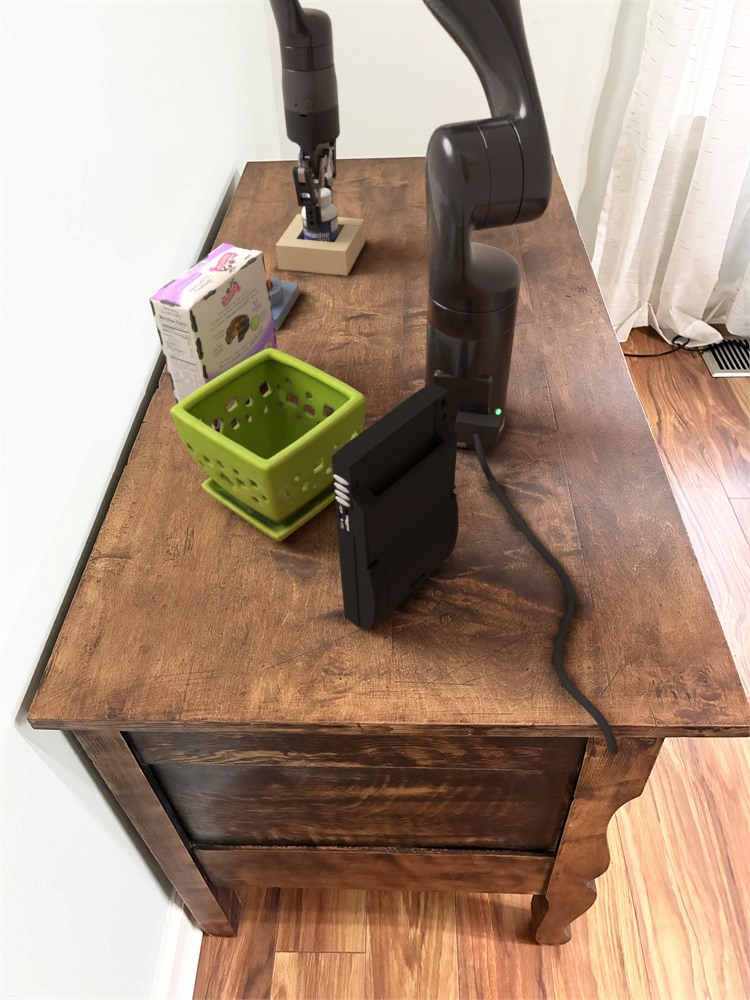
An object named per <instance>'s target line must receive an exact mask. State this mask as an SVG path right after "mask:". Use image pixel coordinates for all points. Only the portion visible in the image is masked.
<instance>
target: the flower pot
mask: <svg viewBox="0 0 750 1000" xmlns="http://www.w3.org/2000/svg"><path fill="white" fill-rule="evenodd" d="M264 381H266V385H267V387H268V390H267V391H266V392H265V393H264V394H263V395H262V392H261V390H260V389H261V388H260V389H259V386H260V385H261V384H262V383H263V382H264ZM310 394H311V397H310ZM290 395H292V396H294V397H295V398H297V404H295V403H293V402H292V401H291V400H290ZM233 397H234V400H235V405H234V406H232V407H231V408H230V409H229V410H227V408H226V403H227V402H228V401H229V400H230V399H231V398H233ZM249 397H250V399H249V403H248V404H247V402H246V400H247V398H249ZM282 405H283V407H282ZM307 406H308V407H310V408H312V409H313V410H314V412H313V413H314V414H311V413H310V412H308V411H307V408H308V407H307ZM327 407H328V408H330V409H332V410H333V412H332V414H330V415H329V416H327ZM366 414H367V398H366V396H365V395H364V394H363V393H361V392H360V391H358V390H357V389H356V388H355V387H352V386H351V385H349V384H347V383H346V382H343V381H342V380H340V379H338V378H337V377H334V376H333V375H331V374H329V373H327V372H324V371H323V370H322V369H319V368H317V367H315V366H314V365H312V364H309V363H308V362H306V361H303V360H301V359H299V358H297V357H295V356H293V355H291V354H288V353H286V352H284V351H281V350H280V349H277V350H276V349H273V348H268V349H265V350H263V351H261V352H259V353H257V354H256V355H254V356H252V357H250V358H248V359H246V360H245V361H243V362H241V363H239V364H238V365H236V366H234V367H233V368H231V369H229V370H228V371H226V372H224V373H223V374H221V375H219V376H218V377H216V378H215V379H213V380H211V381H210V382H208V383H207V384H205V385H204V386H202V387H201V388H199V389H198V390H196V391H195V392H193V393H192V394H190V395H189V396H187V397H186V398H185V399H183V400H182V401H181V402H179V403H178V404H177V403H176V404H175V405H174V406H173V407H171V409H170V416H171V418H172V421H173V423H174V426H175V428H176V430H177V433H178V435H179V437H180V439H181V441H182V443H183V445H184V446H185V449H186V450H187V452H188V453H189V454H190V456H191V457H192V459H193V460H194V461H195V462H196V464H197V465H198V466H199V467H200V468H201V470H202V471H203V472H204V473H205V474H206V475H207V476H208V477H209V478H207V479H206V480H205V481H203V482H202V483H201V488H202V490H203V491H204V492H206V493H207V494H208V495H209V496H211V497H212V498H214V499H215V500H216V501H218V502H219V503H221V504H222V505H223V506H224V507H226V508H227V509H229V510H231V511H232V512H233V513H235V514H236V515H238V516H239V517H241V518H242V519H244V520H245V521H247V523H249V524H251V525H252V526H253V527H255V528H257V530H259V531H260V532H262V533H264V534H265V535H267V536H268V537H269V538H271V539H273V540H275V541H276V542H281V541H283V540H285V539H286V538H288V537H289V536H290V535H291V534H293V533H295V531H297V530H298V529H299V528H301V527H302V526H303V525H305V524H306V523H307V522H309V521H310V520H311V519H312V518H314V517H316V515H317V514H319V513H320V512H321V511H322V510H324V509H325V508H326V507H328V506H329V505H330V504H331V503H333V502H335V492H334V479H333V467H332V455H333V454H334V453H336V452H337V451H338V450H339V449H340V448H342V447H343V446H344V445H345V444H347V443H348V442H349V441H351V440H352V439H353V438H355V437H356V436H357V435H359V434H360V433H362V432H363V431H364V427H365V420H366ZM247 415H249V418H248V420H247ZM300 417H301V419H300ZM200 419H201V421H200ZM214 419H220V420H221V427H220V428H219V431H217V429H216V430H214V429H212V428H211V427H212V424H213V421H214ZM234 420H236V422H237V423H236V425H235V426H234V427H233V426H232V422H233V421H234Z"/></svg>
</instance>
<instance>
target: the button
mask: <svg viewBox="0 0 750 1000" xmlns="http://www.w3.org/2000/svg"><path fill="white" fill-rule="evenodd" d="M266 276H267V282H268V289H269V290H271V281H270V276H271V275H269V273H267V272H266Z"/></svg>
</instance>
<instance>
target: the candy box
mask: <svg viewBox="0 0 750 1000" xmlns="http://www.w3.org/2000/svg"><path fill="white" fill-rule="evenodd" d="M265 263H266V262H265V257H264V252H263V251H262V250H257V249H253V248H248V247H245V246H238V245H236V244H235V245H234V244H231V243H227V242H226V243H225V242H223V243H222V244H221V245H218V247H216V248H215V249H213V250H212V251H211V252H210V253H208V254H207V255H206V256H204V257H203V258H201V259H199V261H198V262H196V263H195V264H193V265H191V266H190V267H189V268H188V269H186V270H184V271H183V272H181V274H179V275H178V276H176V277H174V279H172V280H171V281H170V282H168V283H167V284H165V285H164V286H163V287H161V288H160V289H158V290H157V291H156V292H154V293H153V294H151V295H150V296H148V300H149V304H150V306H151V312H152V316H153V319H154V323H155V326H156V331H157V334H158V337H159V342H160V346H161V349H162V353H163V357H164V361H165V365H166V369H167V372H168V376H169V380H170V384H171V386H172V387H171V388H172V391H173V395H174V399H175V403H176V404H178V403H179V402H181V401H182V400H183V399H185V398H186V397H187V396H189V395H190V394H192V393H193V392H195V391H196V390H198V389H199V388H201V387H202V386H204V385H205V384H207V383H208V382H210V381H211V380H213V379H215V378H216V377H218V376H219V375H221V374H223V373H224V372H226V371H228V370H229V369H231V368H233V367H234V366H236V365H238V364H239V363H241V362H243V361H245V360H246V359H248V358H250V357H252V356H254V355H256V354H257V353H259V352H261V351H263V350H265V349H268V348H273V349H276V350H278V343H277V337H276V330H275V329H274V322H273V315H272V309H271V302H270V296H269V289H268V282H267V276H266V273H267V270H266V265H265ZM265 384H267V382H266V381H264V382H263V383H262V384H261V385H260V386H259V389H262V387H264V385H265ZM248 401H250V397H249V398H247V400H246V403H247V402H248ZM234 405H235V400H234V397H233V398H231V399H230V400H229V401H228V402H227V403H226V408H227V410H229V409H230V408H231V407H232V406H234ZM200 421H201V419H200ZM211 428H212V429H214V430H216V431H217V430H220V428H221V420H220V419H214V421H213V424H212V427H211Z"/></svg>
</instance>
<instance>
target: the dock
mask: <svg viewBox="0 0 750 1000" xmlns="http://www.w3.org/2000/svg"><path fill="white" fill-rule="evenodd" d="M338 233H339V235H338V237H337V239H336V241H335V242H325V241H314V240H304V232H303V221H302V213H297V214H296V215H295V217H294V218H293V220H292V221H291V223H290V224H289V226H288V227H287V228H286V230H284V232H283V234H282V235H281V237H280V238H279V240H278V241H277V242H276V244H275V251H276V258H277V266H278V270H282V271H283V270H284V271H293V272H304V273H317V274H327V275H337V276H348V275H349V273H350V271H351V270H352V268H353V266H354V264H355V263H356V260H357V258H358V256H359V254H360V253H361V251H362V249H363V248H364V245H365V243H366V241H365V240H366V239H365V238H366V237H365V235H366V234H365V219H364V218H356V217H355V218H354V217H342V216H338Z"/></svg>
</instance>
